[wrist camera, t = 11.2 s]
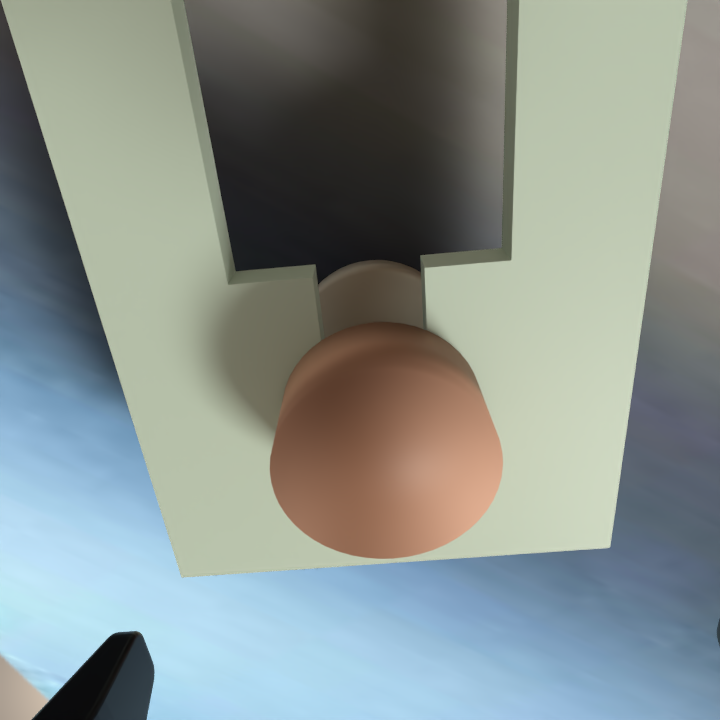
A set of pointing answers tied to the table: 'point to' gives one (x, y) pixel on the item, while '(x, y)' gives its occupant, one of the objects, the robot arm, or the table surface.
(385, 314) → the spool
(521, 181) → the keyhole board
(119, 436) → the table surface
